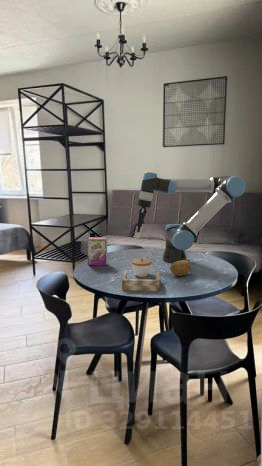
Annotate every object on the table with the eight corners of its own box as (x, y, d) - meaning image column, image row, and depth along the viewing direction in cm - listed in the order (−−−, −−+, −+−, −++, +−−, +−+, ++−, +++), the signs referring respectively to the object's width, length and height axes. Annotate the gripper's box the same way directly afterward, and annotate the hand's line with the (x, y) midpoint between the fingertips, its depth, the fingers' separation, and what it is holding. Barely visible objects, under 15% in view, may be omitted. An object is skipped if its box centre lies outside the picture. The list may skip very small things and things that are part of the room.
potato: (195, 273, 174) (195, 259, 173) (181, 280, 164) (181, 265, 162) (180, 270, 180) (180, 256, 179) (165, 276, 170) (166, 261, 169)
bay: (158, 280, 163) (158, 271, 162) (159, 290, 148) (159, 280, 148) (124, 280, 164) (124, 270, 163) (122, 290, 149) (122, 280, 148)
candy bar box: (87, 265, 191) (87, 238, 188) (89, 263, 195) (89, 237, 193) (106, 266, 189) (105, 239, 187) (107, 263, 194) (107, 237, 191)
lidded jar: (153, 277, 167) (153, 260, 166) (132, 278, 167) (132, 261, 165) (150, 271, 178) (150, 255, 176) (131, 272, 177) (131, 255, 175)
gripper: (140, 197, 193) (133, 231, 196) (137, 199, 168) (129, 237, 171) (152, 200, 192) (145, 234, 195) (151, 201, 167) (143, 240, 171)
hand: (137, 236), depth 183 cm, fingers open, 13 cm apart
